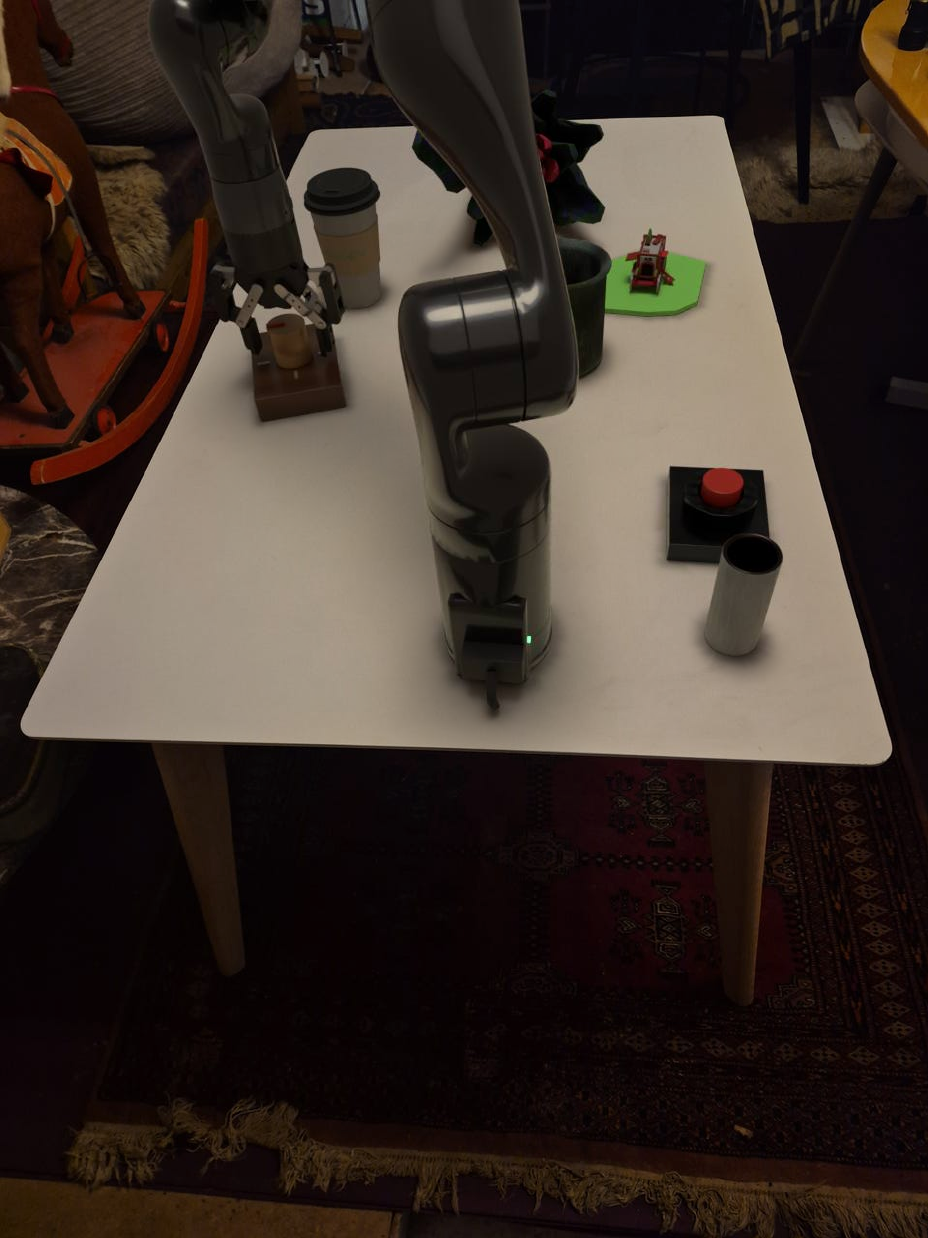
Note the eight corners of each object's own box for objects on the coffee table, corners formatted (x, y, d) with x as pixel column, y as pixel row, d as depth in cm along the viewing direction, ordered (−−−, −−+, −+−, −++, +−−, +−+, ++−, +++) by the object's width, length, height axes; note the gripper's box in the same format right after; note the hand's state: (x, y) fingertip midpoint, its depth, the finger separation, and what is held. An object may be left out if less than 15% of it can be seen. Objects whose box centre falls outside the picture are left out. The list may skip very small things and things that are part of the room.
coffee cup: (331, 321, 111) (306, 205, 100) (319, 286, 117) (294, 173, 106) (401, 306, 112) (385, 189, 101) (386, 272, 118) (369, 158, 107)
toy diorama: (707, 259, 114) (713, 212, 109) (693, 320, 105) (699, 272, 101) (595, 251, 118) (597, 206, 113) (572, 309, 109) (573, 263, 104)
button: (741, 508, 79) (744, 494, 77) (700, 506, 79) (703, 492, 78) (739, 482, 81) (742, 468, 80) (700, 480, 81) (702, 466, 80)
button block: (766, 566, 79) (775, 535, 76) (666, 560, 80) (671, 530, 77) (759, 486, 86) (767, 455, 83) (667, 482, 87) (671, 451, 84)
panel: (346, 406, 99) (341, 383, 97) (261, 422, 99) (253, 399, 96) (335, 341, 108) (330, 318, 106) (256, 355, 108) (249, 332, 105)
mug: (601, 387, 98) (606, 289, 89) (476, 380, 101) (469, 284, 91) (610, 334, 105) (616, 238, 95) (493, 329, 107) (487, 235, 98)
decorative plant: (565, 260, 135) (574, 313, 110) (410, 195, 131) (383, 235, 106) (625, 118, 124) (650, 142, 99) (456, 42, 120) (439, 47, 95)
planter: (750, 613, 75) (774, 529, 67) (764, 654, 72) (790, 572, 65) (699, 617, 76) (716, 534, 68) (710, 658, 73) (730, 576, 65)
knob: (309, 344, 103) (301, 307, 99) (315, 364, 100) (306, 327, 96) (273, 351, 102) (263, 315, 99) (277, 372, 99) (267, 335, 96)
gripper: (178, 231, 87) (224, 369, 99) (313, 231, 85) (343, 372, 97) (203, 197, 91) (245, 333, 104) (332, 196, 89) (358, 335, 102)
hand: (292, 351), depth 100 cm, fingers open, 8 cm apart
